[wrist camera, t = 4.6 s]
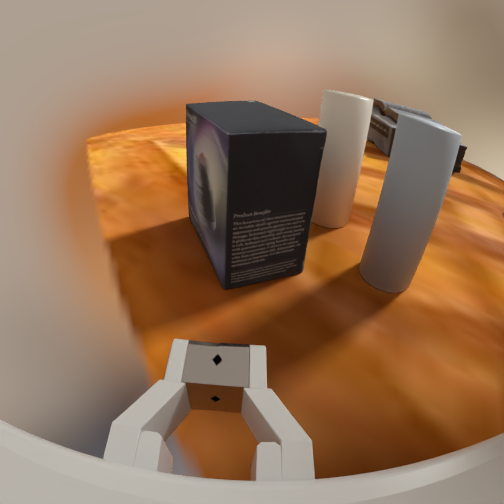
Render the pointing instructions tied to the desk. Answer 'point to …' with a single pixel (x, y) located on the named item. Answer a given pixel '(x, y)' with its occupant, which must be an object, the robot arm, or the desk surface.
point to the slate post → (408, 201)
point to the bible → (386, 123)
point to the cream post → (340, 155)
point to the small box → (252, 187)
